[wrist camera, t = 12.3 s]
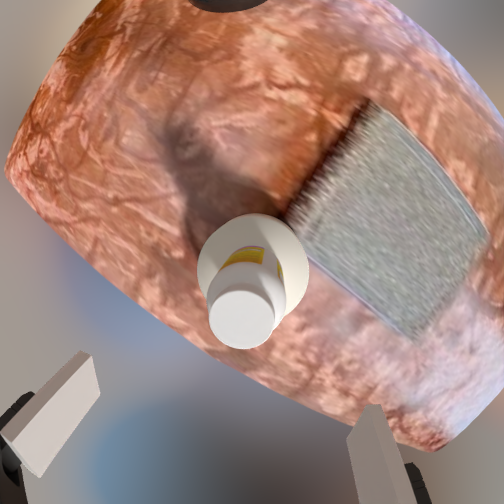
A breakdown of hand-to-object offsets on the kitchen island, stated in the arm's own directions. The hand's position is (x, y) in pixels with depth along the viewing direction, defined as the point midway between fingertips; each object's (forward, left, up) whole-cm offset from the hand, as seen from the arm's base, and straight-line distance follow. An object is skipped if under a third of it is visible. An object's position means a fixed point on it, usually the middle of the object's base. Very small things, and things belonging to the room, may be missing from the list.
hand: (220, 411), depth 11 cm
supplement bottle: (0, 0, -21) cm, 21 cm away
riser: (0, 0, -27) cm, 27 cm away
